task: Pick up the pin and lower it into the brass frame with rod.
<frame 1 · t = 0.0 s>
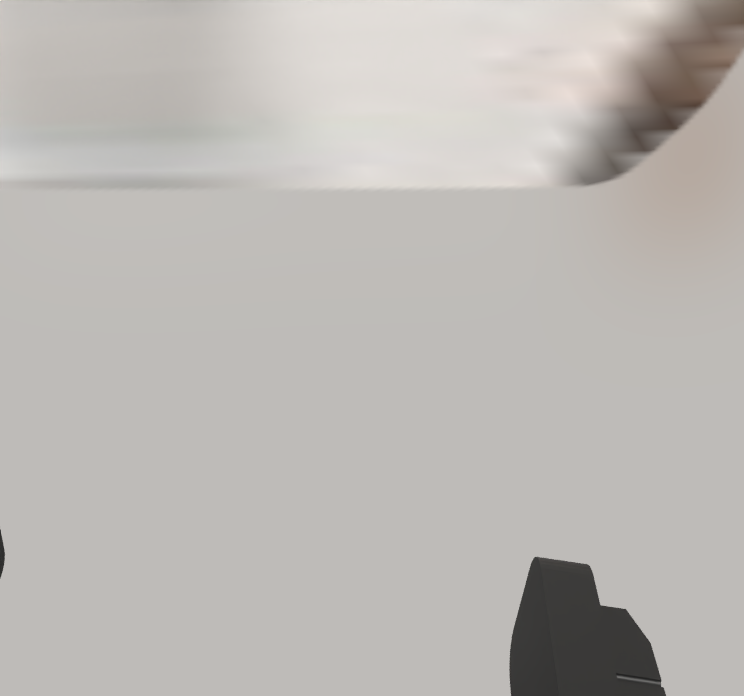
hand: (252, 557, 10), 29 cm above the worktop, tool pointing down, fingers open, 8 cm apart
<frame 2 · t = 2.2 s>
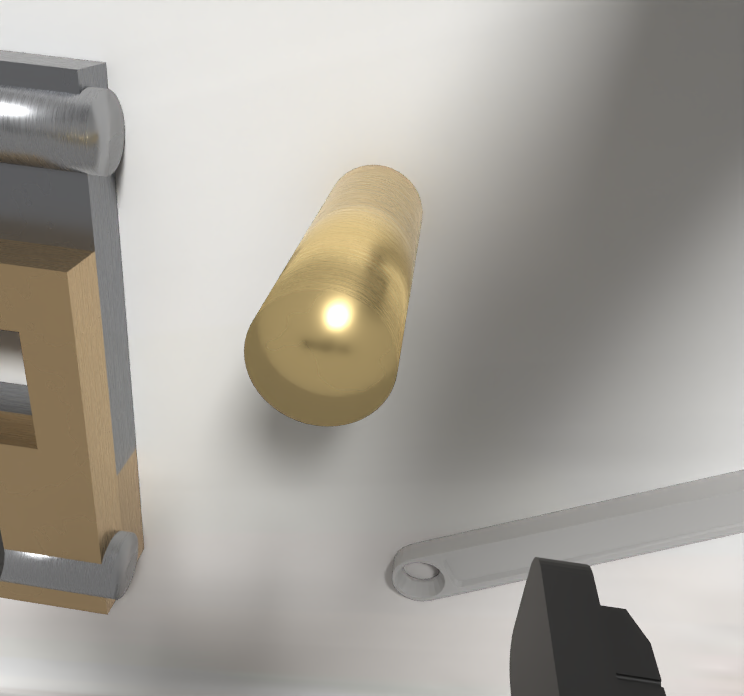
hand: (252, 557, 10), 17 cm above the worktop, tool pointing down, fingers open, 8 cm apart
pin: (374, 213, 25), on the worktop
brass frame with rod: (22, 334, 29), on the worktop
adjustable wrench: (672, 483, 30), on the worktop
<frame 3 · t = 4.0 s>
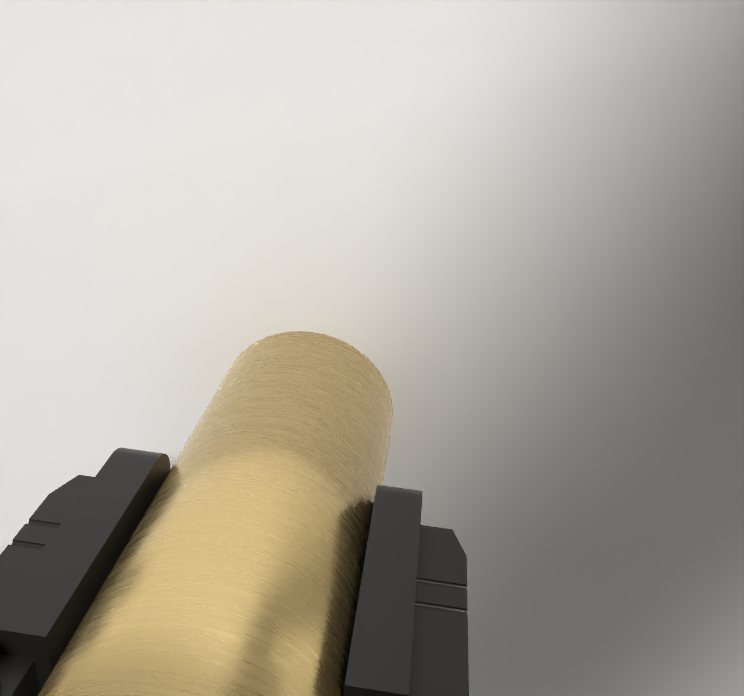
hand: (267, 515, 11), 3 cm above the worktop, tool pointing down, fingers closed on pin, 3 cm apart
pin: (307, 408, 14), on the worktop, touching gripper
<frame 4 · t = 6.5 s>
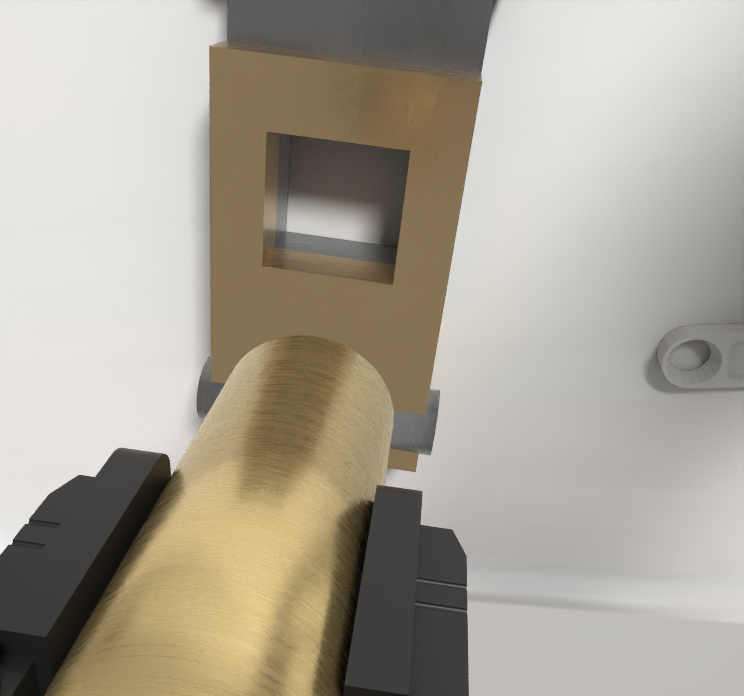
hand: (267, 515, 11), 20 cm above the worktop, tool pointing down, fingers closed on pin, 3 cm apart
pin: (308, 412, 14), point 17 cm above the worktop, touching gripper
brass frame with rod: (348, 182, 29), on the worktop
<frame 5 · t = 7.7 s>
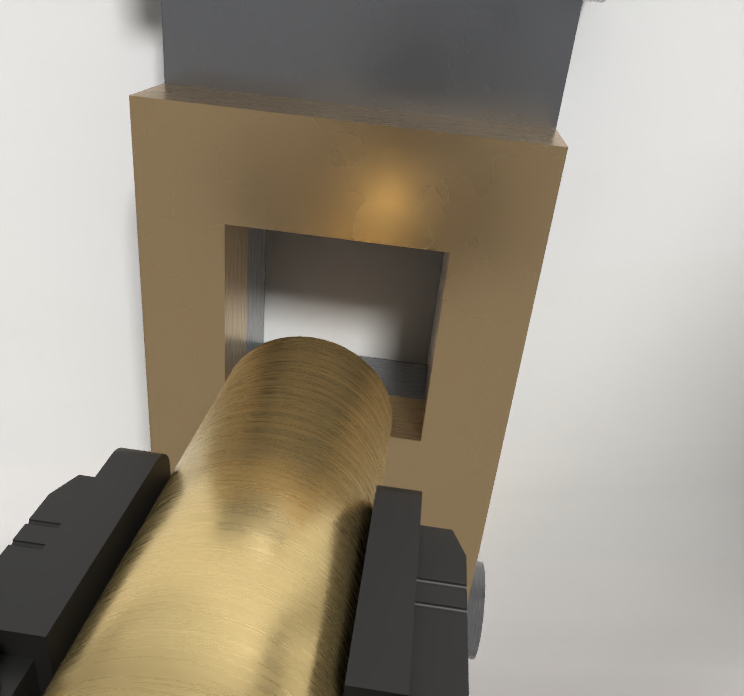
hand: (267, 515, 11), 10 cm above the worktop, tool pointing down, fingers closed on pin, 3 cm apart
pin: (307, 413, 14), point 7 cm above the worktop, touching gripper
brass frame with rod: (351, 277, 20), on the worktop
when the fingers open (6 cm above the worktop, at t = 8.9 s): pin drops 2 cm, resting in brass frame with rod.
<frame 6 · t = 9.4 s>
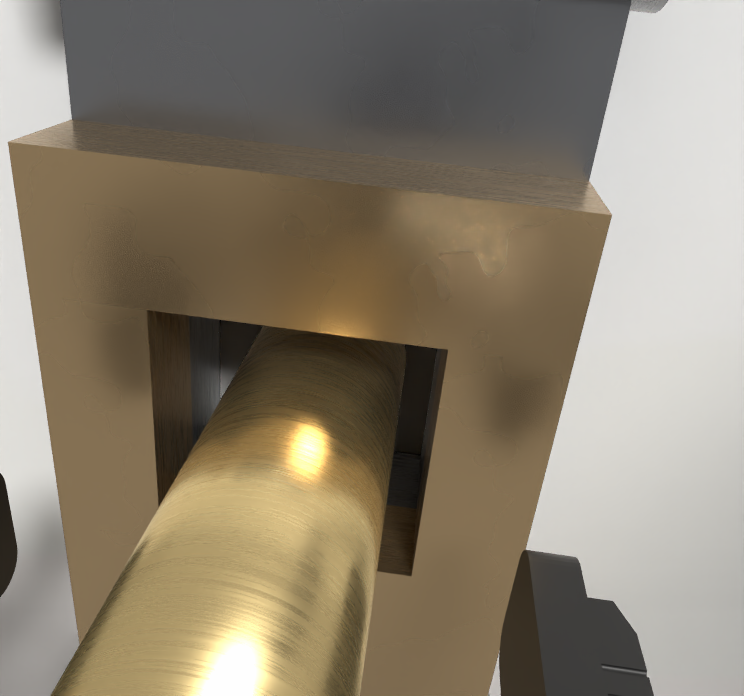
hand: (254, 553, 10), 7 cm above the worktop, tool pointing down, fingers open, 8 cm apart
pin: (332, 355, 16), resting in brass frame with rod
brass frame with rod: (326, 351, 16), on the worktop
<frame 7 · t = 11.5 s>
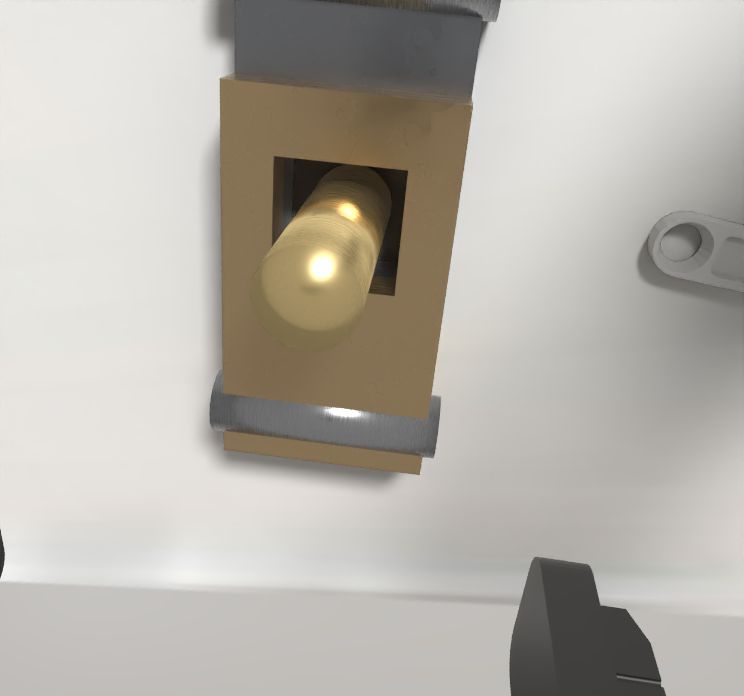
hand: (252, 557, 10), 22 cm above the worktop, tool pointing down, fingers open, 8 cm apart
pin: (352, 203, 31), resting in brass frame with rod
brass frame with rod: (349, 201, 31), on the worktop
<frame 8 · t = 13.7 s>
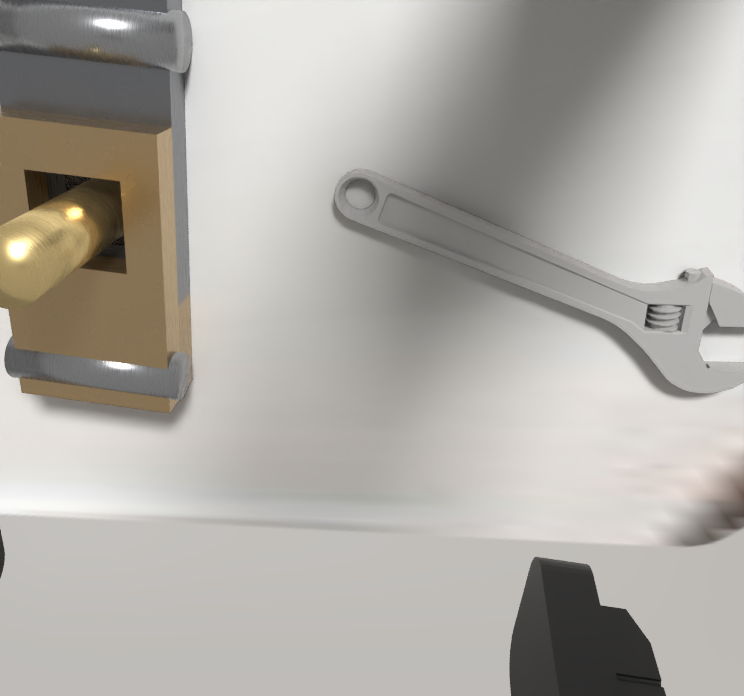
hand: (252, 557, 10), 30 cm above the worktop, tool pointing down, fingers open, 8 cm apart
pin: (112, 203, 40), resting in brass frame with rod
brass frame with rod: (110, 202, 40), on the worktop
adjustable wrench: (558, 257, 40), on the worktop
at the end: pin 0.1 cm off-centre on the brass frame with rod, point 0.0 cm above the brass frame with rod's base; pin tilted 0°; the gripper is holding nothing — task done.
